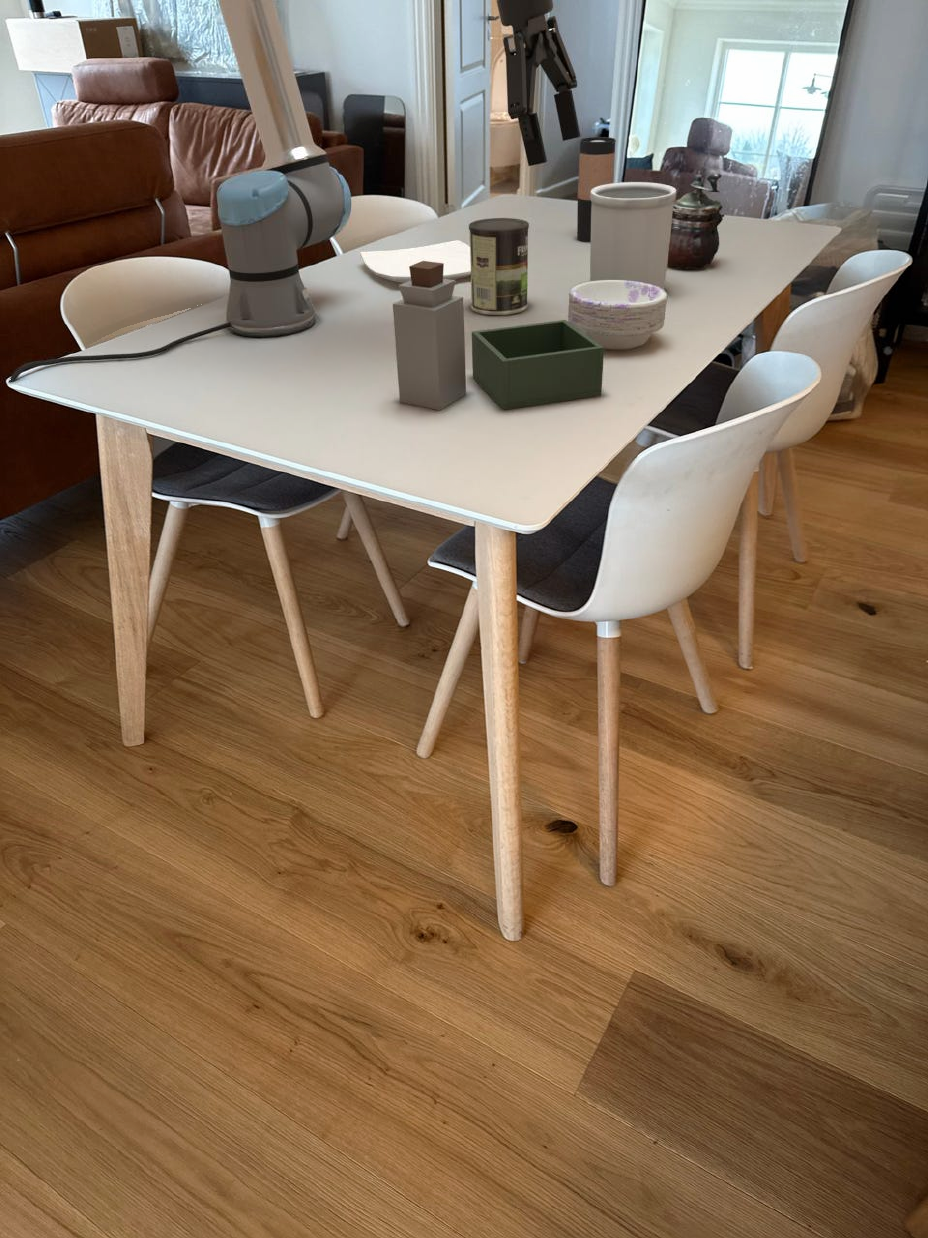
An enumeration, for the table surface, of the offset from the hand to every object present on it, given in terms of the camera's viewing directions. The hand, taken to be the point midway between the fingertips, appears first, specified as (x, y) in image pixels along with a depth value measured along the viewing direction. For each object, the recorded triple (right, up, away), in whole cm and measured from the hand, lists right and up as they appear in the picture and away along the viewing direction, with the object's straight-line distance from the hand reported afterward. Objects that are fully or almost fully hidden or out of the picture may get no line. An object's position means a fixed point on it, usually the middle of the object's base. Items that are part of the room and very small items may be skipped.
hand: (555, 150), depth 137 cm
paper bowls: (+10, -26, +9) cm, 30 cm away
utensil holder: (+16, -10, +32) cm, 37 cm away
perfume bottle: (-18, -40, -9) cm, 45 cm away
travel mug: (+15, +15, +67) cm, 71 cm away
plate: (-21, 0, +48) cm, 53 cm away
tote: (-4, -37, -7) cm, 38 cm away
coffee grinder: (+32, 0, +45) cm, 55 cm away
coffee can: (-8, -15, +26) cm, 31 cm away
